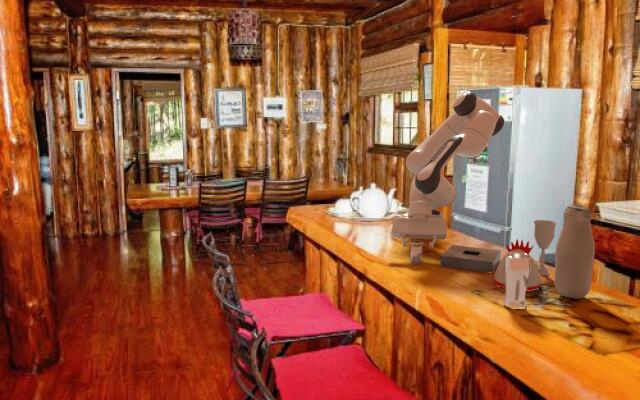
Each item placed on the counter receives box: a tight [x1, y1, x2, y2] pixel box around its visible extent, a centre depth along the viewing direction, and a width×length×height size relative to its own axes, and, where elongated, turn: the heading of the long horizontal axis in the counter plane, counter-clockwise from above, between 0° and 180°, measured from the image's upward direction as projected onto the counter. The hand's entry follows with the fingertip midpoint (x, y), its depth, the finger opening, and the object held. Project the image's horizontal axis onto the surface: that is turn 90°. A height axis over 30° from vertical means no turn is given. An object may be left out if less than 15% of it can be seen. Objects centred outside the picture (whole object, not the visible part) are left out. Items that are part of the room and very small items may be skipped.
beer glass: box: [503, 252, 531, 308], centre depth 150 cm, size 7×7×15 cm
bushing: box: [409, 239, 425, 266], centre depth 194 cm, size 5×5×8 cm
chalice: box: [533, 219, 558, 276], centre depth 181 cm, size 7×7×18 cm
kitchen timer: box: [493, 238, 541, 290], centre depth 169 cm, size 14×14×15 cm
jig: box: [439, 244, 502, 274], centre depth 194 cm, size 18×18×4 cm
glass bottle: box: [553, 204, 596, 300], centre depth 157 cm, size 10×10×28 cm
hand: (418, 247), depth 194 cm, fingers open, 8 cm apart
